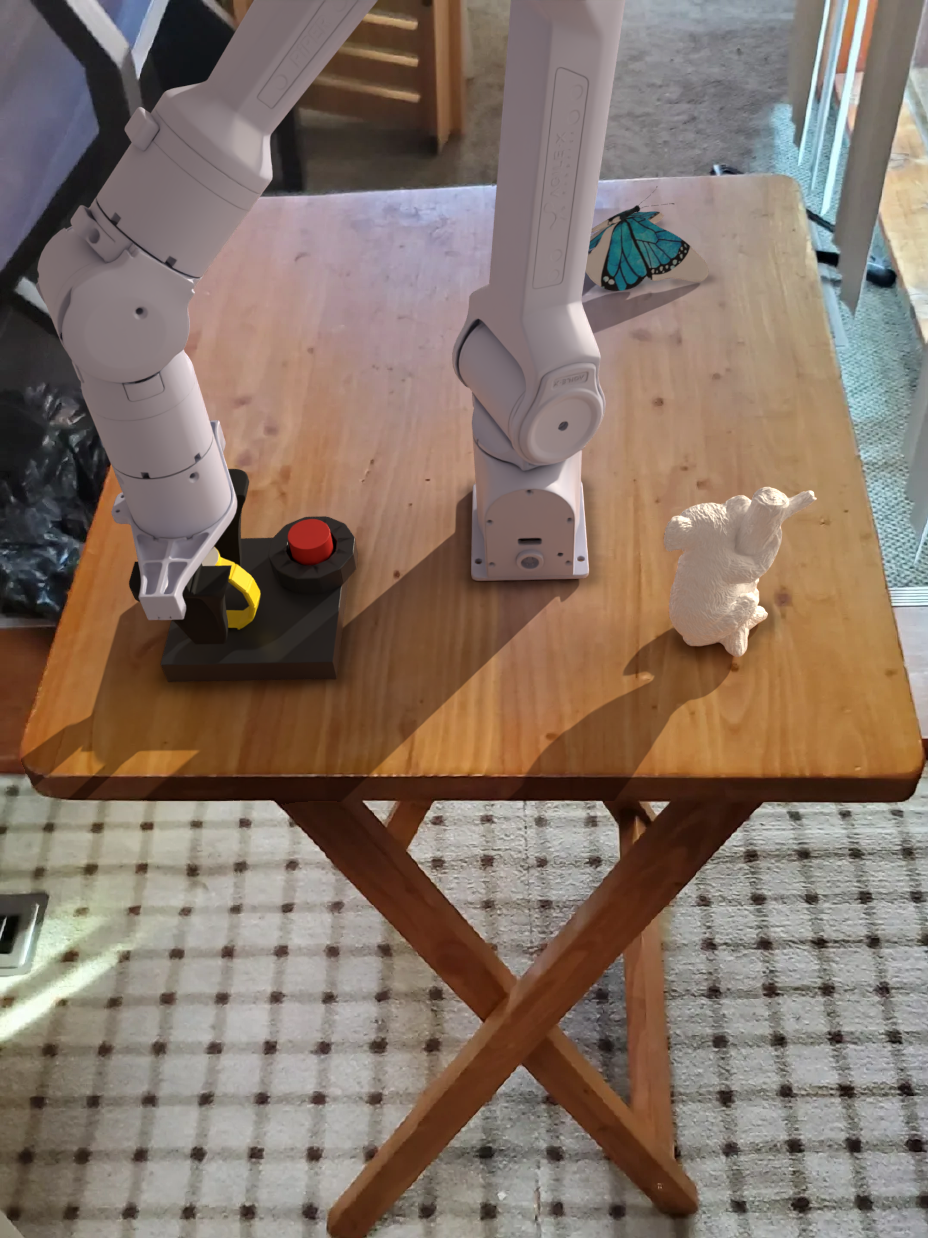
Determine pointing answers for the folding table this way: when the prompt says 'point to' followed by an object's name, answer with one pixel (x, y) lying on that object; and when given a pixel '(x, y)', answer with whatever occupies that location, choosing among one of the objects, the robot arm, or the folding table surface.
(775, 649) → the folding table surface
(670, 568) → the folding table surface
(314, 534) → the button
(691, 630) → the koala figurine
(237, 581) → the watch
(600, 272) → the decorative butterfly
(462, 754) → the folding table surface
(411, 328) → the folding table surface
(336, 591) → the black red button box
